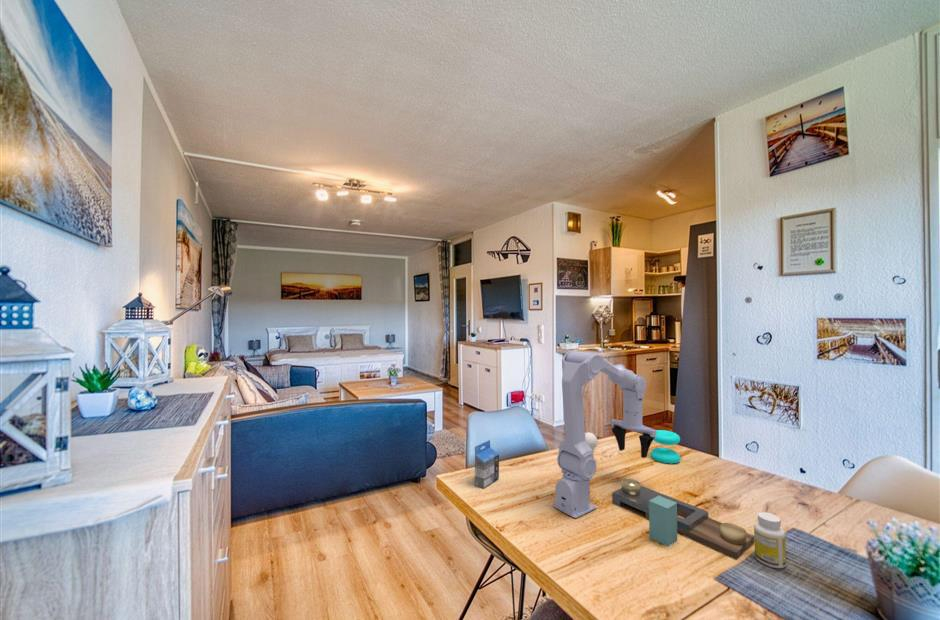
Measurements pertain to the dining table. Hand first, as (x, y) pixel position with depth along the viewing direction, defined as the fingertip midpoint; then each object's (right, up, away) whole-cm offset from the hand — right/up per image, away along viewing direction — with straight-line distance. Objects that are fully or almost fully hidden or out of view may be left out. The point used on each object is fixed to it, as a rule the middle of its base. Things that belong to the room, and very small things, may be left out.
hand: (632, 453), depth 120 cm
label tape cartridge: (-47, -10, +1) cm, 48 cm away
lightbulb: (-8, -10, +18) cm, 22 cm away
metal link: (-1, -10, -17) cm, 20 cm away
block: (-5, -10, -29) cm, 31 cm away
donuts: (+21, -11, +21) cm, 32 cm away
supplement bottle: (+14, -10, -37) cm, 41 cm away
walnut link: (+5, -10, -25) cm, 28 cm away
